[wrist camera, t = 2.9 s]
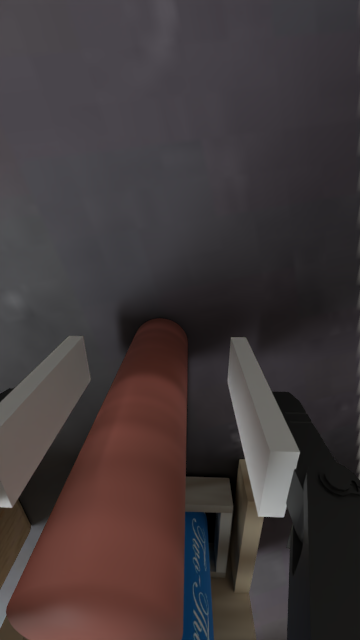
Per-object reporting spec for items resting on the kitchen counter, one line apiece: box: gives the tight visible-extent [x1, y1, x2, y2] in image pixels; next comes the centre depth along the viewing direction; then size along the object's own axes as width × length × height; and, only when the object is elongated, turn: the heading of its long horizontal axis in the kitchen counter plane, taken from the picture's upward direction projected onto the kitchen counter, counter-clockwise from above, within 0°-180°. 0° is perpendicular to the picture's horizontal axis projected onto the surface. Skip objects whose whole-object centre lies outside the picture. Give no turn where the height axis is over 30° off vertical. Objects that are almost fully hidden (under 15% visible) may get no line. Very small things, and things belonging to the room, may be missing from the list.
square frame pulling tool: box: [6, 318, 233, 640], centre depth 13 cm, size 23×10×11 cm, turn 1°
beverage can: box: [181, 512, 214, 640], centre depth 16 cm, size 6×6×12 cm
